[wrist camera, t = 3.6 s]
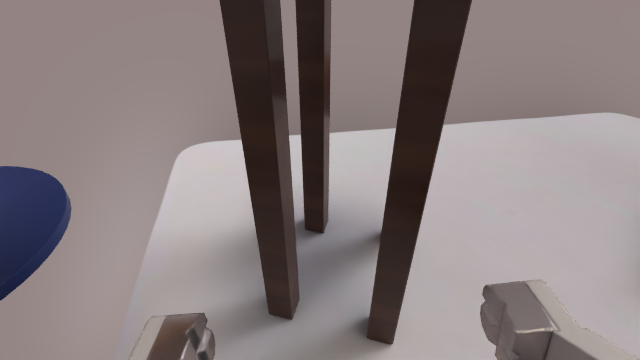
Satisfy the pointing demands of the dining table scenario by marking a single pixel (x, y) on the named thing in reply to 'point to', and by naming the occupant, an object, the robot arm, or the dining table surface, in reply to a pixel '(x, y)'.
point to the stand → (314, 89)
